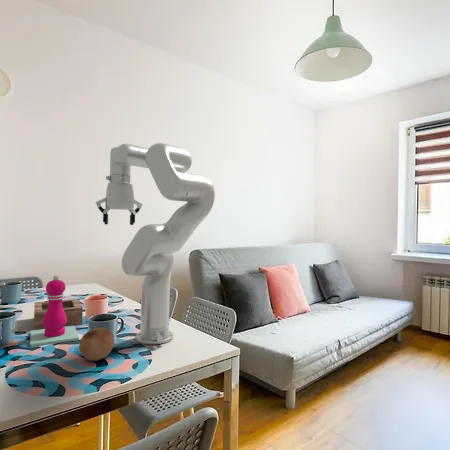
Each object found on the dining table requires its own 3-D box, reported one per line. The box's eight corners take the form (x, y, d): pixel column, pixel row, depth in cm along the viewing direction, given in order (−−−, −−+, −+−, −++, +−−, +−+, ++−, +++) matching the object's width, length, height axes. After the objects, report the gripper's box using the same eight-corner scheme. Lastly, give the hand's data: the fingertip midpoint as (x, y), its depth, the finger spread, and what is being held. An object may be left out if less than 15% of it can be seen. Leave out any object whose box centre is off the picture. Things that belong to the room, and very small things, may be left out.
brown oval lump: (89, 374, 94) (78, 348, 90) (82, 354, 101) (71, 329, 97) (122, 356, 99) (113, 330, 94) (112, 338, 106) (103, 314, 101)
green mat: (78, 339, 112) (78, 337, 112) (30, 346, 105) (30, 344, 105) (74, 327, 124) (74, 325, 124) (30, 333, 117) (30, 330, 117)
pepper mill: (56, 338, 111) (58, 277, 110) (37, 336, 112) (38, 276, 112) (71, 331, 118) (72, 274, 117) (52, 329, 119) (54, 273, 119)
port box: (82, 324, 128) (82, 307, 128) (33, 330, 121) (34, 312, 120) (77, 313, 142) (78, 298, 142) (34, 318, 135) (34, 302, 134)
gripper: (98, 177, 123) (97, 224, 123) (145, 181, 131) (144, 225, 131) (94, 179, 129) (93, 224, 129) (139, 182, 138) (138, 224, 138)
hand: (119, 224), depth 130 cm, fingers open, 9 cm apart
